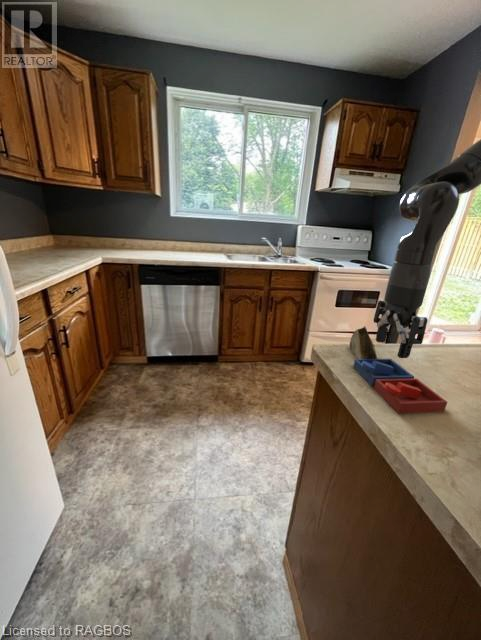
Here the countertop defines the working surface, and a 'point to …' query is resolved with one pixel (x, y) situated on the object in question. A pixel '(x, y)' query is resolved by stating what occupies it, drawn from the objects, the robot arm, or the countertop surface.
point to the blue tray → (372, 376)
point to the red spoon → (403, 390)
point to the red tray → (404, 404)
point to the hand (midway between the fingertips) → (390, 349)
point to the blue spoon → (378, 367)
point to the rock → (362, 344)
